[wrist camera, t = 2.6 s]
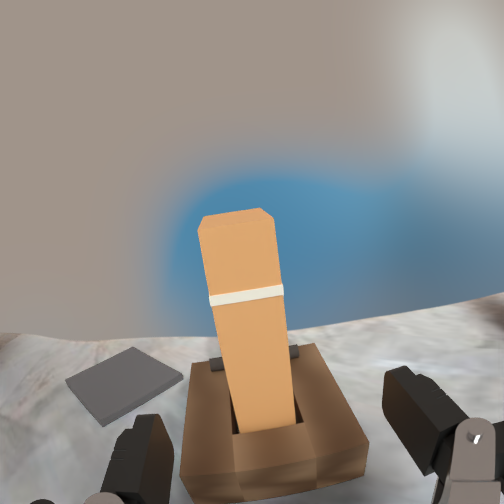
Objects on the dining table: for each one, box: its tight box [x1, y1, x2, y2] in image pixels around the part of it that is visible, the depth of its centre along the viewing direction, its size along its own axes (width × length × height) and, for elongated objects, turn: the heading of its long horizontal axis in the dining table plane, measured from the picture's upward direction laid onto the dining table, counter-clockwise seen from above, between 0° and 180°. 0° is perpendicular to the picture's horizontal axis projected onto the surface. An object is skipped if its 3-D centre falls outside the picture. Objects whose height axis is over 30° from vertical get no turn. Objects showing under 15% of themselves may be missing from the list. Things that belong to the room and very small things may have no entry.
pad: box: [65, 347, 183, 427], centre depth 33 cm, size 11×11×1 cm
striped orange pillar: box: [198, 208, 296, 434], centre depth 22 cm, size 4×6×18 cm
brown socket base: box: [180, 343, 369, 504], centre depth 23 cm, size 12×14×5 cm
